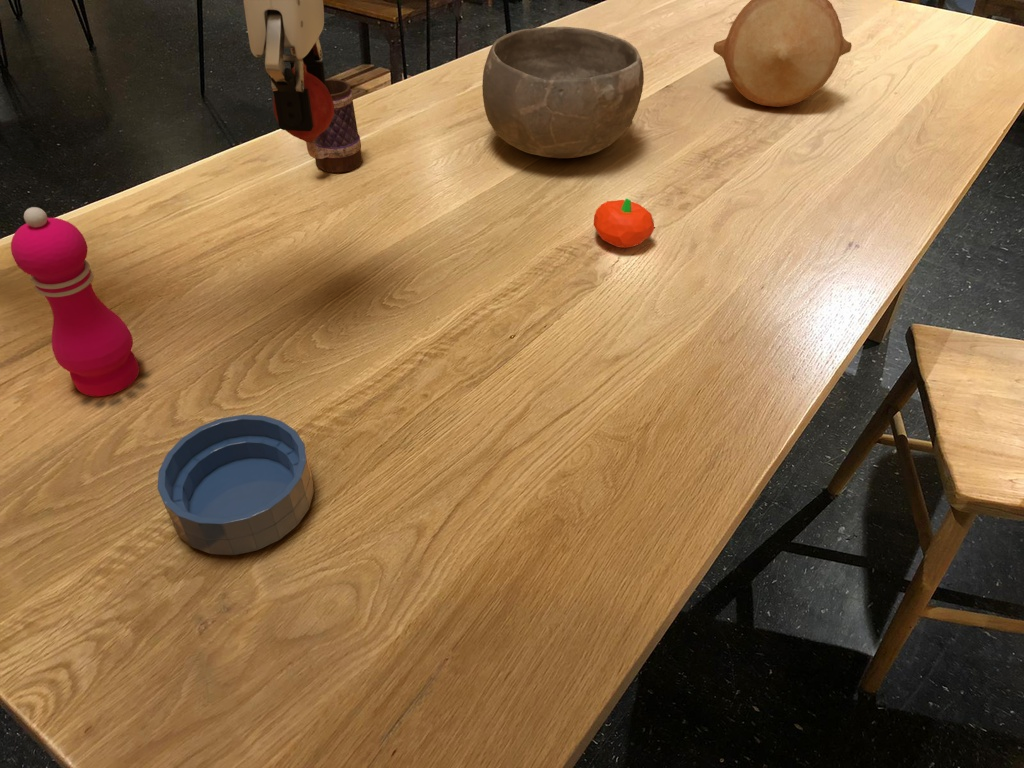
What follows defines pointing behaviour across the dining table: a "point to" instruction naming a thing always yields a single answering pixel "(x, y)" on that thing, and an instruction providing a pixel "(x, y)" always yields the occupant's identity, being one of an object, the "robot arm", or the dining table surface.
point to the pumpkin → (623, 223)
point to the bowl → (561, 90)
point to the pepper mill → (75, 305)
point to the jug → (782, 49)
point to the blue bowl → (236, 484)
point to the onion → (314, 107)
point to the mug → (338, 133)
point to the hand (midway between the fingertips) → (304, 113)
